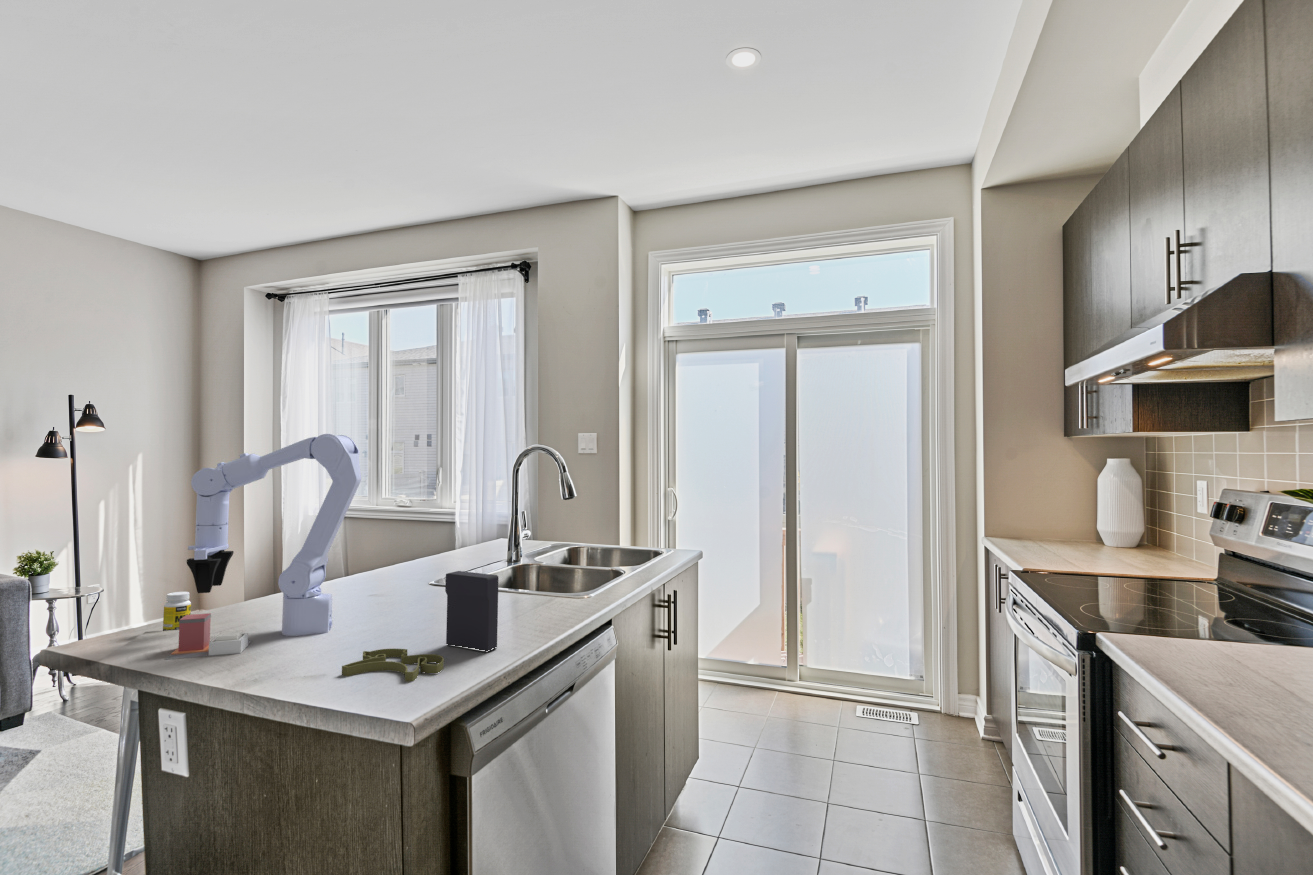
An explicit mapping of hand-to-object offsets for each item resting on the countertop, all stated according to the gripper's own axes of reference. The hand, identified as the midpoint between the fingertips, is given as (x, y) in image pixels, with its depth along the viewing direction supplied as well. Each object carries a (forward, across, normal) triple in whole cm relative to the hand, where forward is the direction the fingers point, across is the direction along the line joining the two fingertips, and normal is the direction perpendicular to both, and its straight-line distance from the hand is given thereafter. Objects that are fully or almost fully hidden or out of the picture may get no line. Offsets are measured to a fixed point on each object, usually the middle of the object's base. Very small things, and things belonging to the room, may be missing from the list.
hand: (209, 588), depth 134 cm
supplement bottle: (+11, -8, -8) cm, 16 cm away
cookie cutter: (+11, +32, +38) cm, 51 cm away
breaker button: (+9, +15, +7) cm, 19 cm away
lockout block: (+9, +12, +1) cm, 15 cm away
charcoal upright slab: (+11, +23, +52) cm, 58 cm away
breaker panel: (+10, +14, +4) cm, 18 cm away
